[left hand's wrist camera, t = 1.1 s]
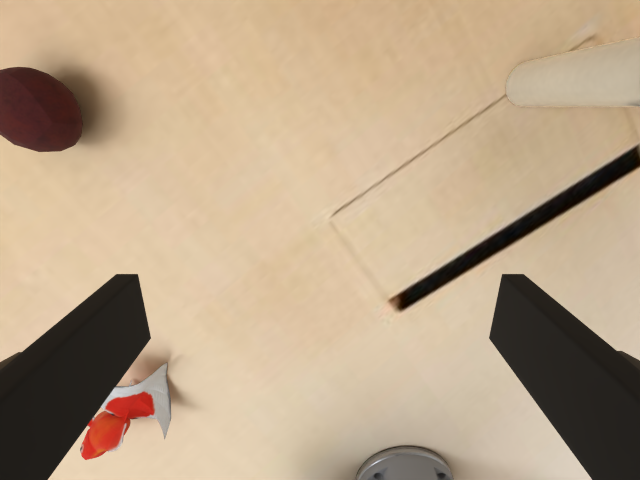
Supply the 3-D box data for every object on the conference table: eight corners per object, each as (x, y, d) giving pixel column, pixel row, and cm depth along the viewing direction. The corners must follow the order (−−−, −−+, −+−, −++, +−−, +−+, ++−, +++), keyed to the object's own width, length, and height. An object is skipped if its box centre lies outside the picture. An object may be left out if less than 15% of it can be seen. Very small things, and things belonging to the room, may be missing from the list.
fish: (34, 405, 45) (25, 475, 37) (141, 324, 48) (153, 373, 41) (98, 436, 51) (101, 500, 44) (188, 362, 55) (206, 410, 47)
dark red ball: (57, 55, 35) (-5, 43, 28) (114, 124, 37) (69, 127, 31) (8, 99, 36) (-61, 98, 30) (66, 163, 39) (13, 174, 32)
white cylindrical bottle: (515, 55, 35) (706, 6, 18) (556, 65, 35) (782, 27, 18) (498, 101, 37) (659, 97, 19) (537, 111, 37) (730, 115, 20)
